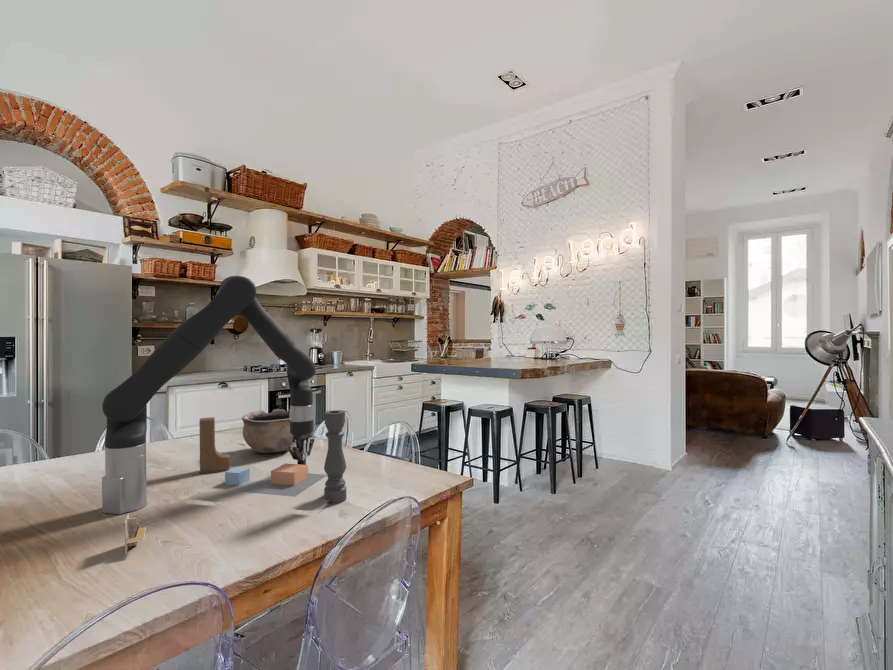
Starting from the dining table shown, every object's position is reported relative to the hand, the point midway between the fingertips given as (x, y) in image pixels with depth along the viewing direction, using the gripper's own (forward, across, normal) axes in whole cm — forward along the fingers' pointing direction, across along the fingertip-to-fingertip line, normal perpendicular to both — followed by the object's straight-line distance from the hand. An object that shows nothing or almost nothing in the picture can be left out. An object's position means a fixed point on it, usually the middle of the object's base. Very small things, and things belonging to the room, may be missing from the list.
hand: (301, 470), depth 154 cm
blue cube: (+2, -12, +15) cm, 19 cm away
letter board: (+2, -10, 0) cm, 10 cm away
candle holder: (+2, -17, -20) cm, 26 cm away
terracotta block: (+1, -8, 0) cm, 8 cm away
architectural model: (+3, -53, +11) cm, 55 cm away
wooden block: (+2, 0, +33) cm, 33 cm away
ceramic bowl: (+2, +26, +28) cm, 38 cm away
